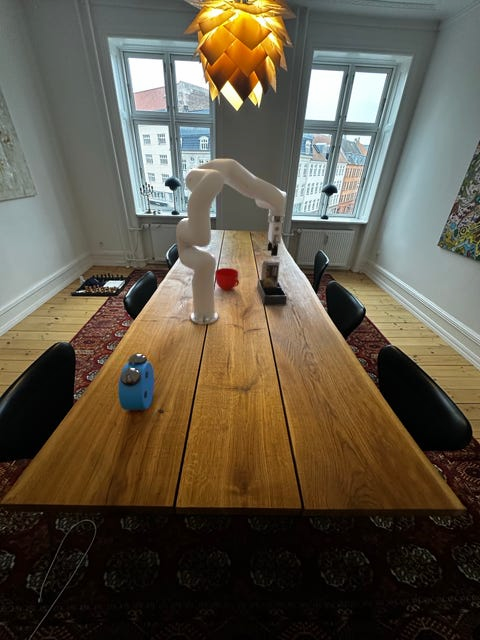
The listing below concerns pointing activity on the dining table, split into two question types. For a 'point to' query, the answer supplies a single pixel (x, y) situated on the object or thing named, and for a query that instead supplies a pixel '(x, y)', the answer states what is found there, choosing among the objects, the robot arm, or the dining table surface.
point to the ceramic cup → (226, 278)
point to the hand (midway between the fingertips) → (272, 253)
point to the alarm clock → (136, 383)
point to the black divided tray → (272, 294)
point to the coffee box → (270, 274)
